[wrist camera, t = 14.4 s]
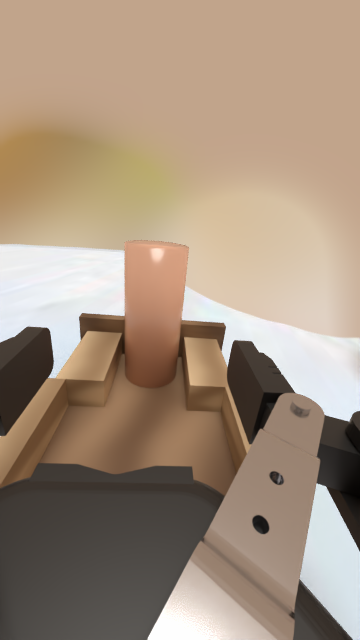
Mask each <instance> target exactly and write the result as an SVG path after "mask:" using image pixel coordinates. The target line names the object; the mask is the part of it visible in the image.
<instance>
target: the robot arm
mask: <svg viewBox="0 0 360 640" xmlns="http://www.w3.org/2000/svg"><path fill="white" fill-rule="evenodd" d="M53 363H54V360H53V351H52V343H51V335H50V331H49V329H48V328H41V327H26V328H25V329H24V330H23V331H21V332H20V333H19V334H18V335H16V336H15V337H12V338H10V339H8V340H5V341H3V342H1V343H0V436H6V435H7V433H8V432H9V431H10V429H11V428H12V426H13V425H14V424H15V422H16V421H17V420H18V418H19V417H20V415H21V414H22V413H23V411H24V410H25V409H26V407H27V406H28V404H29V403H30V402H31V400H32V399H33V397H34V396H35V395H36V393H37V392H38V391H39V389H40V388H41V386H42V385H43V384H44V382H45V381H46V379H47V378H48V377H49V375H50V374H51V372H52V369H53ZM227 382H228V386H229V389H230V391H231V394H232V397H233V400H234V403H235V406H236V408H237V411H238V414H239V417H240V420H241V423H242V426H243V428H244V431H245V434H246V437H247V440H248V443H249V444H252V445H251V447H250V449H249V451H248V453H247V455H246V457H245V459H244V461H243V463H242V465H241V467H240V468H239V470H238V472H237V474H236V476H235V478H234V480H233V482H232V484H231V486H230V488H229V490H228V492H227V494H226V496H224V495H223V494H221V493H220V492H219V491H217V490H216V489H214V488H212V487H211V486H209V485H207V484H205V483H202V482H200V481H197V480H194V479H193V469H192V466H152V467H147V468H143V469H138V470H134V471H130V472H125V473H121V474H111V473H107V472H104V471H100V470H97V469H93V468H90V467H86V466H83V465H80V464H62V463H38V464H37V466H36V468H35V470H34V472H33V474H32V476H31V477H29V478H25V479H22V480H19V481H16V482H13V483H11V484H9V485H6V486H4V487H2V488H0V640H353V639H352V638H351V637H350V636H349V635H348V634H347V632H346V631H345V630H344V629H343V628H342V627H341V626H340V624H339V623H338V622H337V621H336V620H335V619H334V618H333V617H332V615H331V614H330V613H329V612H328V611H327V610H326V609H325V607H324V606H323V605H322V604H321V603H320V602H319V601H318V600H317V598H316V597H315V596H314V595H313V594H312V593H311V592H310V590H309V589H308V588H307V587H306V586H305V585H304V584H303V582H302V581H301V580H300V579H299V578H300V572H301V567H302V561H303V556H304V550H305V544H306V539H307V533H308V528H309V522H310V516H311V511H312V505H313V500H314V494H315V488H316V483H318V484H321V485H324V486H326V487H327V489H328V491H329V493H330V495H331V497H332V499H333V501H334V503H335V504H336V506H337V508H338V510H339V512H340V514H341V516H342V518H343V520H344V522H345V524H346V526H347V528H348V529H349V531H350V533H351V535H352V537H353V539H354V541H355V543H356V545H357V547H358V549H359V551H360V411H357V412H355V413H354V414H353V415H352V417H351V419H350V421H349V422H348V421H344V420H340V419H337V418H333V417H329V416H326V415H324V412H323V410H322V409H321V407H320V406H319V405H318V404H317V403H315V402H314V401H313V400H311V399H309V398H307V397H305V396H303V395H300V394H296V393H295V392H294V390H293V389H292V387H291V386H290V385H289V383H288V382H287V380H286V379H285V377H284V376H283V375H281V372H280V370H279V369H278V368H277V366H276V365H275V363H274V362H273V360H272V359H271V358H269V357H268V356H266V355H265V354H264V353H259V352H258V350H257V349H256V347H255V346H254V344H253V343H252V342H251V341H238V340H235V341H234V342H233V344H232V349H231V354H230V359H229V364H228V369H227Z"/></svg>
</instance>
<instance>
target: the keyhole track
mask: <svg viewBox="0 0 360 640" xmlns="http://www.w3.org/2000/svg"><path fill="white" fill-rule="evenodd" d="M79 321H80V335H81V341H80V343H79V344H78V346H77V347H76V349H75V350H74V352H73V353H72V355H71V356H70V358H69V359H68V360H67V362H66V363H65V365H64V366H63V368H62V369H61V371H60V372H59V374H58V375H57V377H56V378H47V379H46V381H45V382H44V384H43V385H42V386H41V388H40V389H39V391H38V392H37V393H36V395H35V396H34V397H33V399H32V400H31V402H30V403H29V404H28V406H27V407H26V409H25V410H24V411H23V413H22V414H21V415H20V417H19V418H18V420H17V421H16V422H15V424H14V425H13V426H12V428H11V429H10V431H9V432H8V433H7V435H6V436H1V437H0V488H2V487H4V486H6V485H9V484H11V483H13V482H16V481H19V480H22V479H25V478H29V477H31V476H32V474H33V472H34V470H35V468H36V466H37V464H38V463H62V464H80V465H83V466H86V467H90V468H93V469H97V470H100V471H104V472H107V473H111V474H121V473H125V472H130V471H134V470H138V469H143V468H147V467H152V466H192V469H193V479H194V480H197V481H200V482H202V483H205V484H207V485H209V486H211V487H212V488H214V489H216V490H217V491H219V492H220V493H221V494H223V495H224V496H226V494H227V492H228V490H229V488H230V486H231V484H232V482H233V480H234V478H235V476H236V474H237V472H238V470H239V468H240V467H241V465H242V463H243V461H244V459H245V457H246V455H247V453H248V451H249V449H250V447H251V445H252V444H249V443H248V440H247V437H246V434H245V431H244V428H243V426H242V423H241V420H240V417H239V414H238V411H237V408H236V406H235V403H234V400H233V397H232V394H231V391H230V389H229V386H228V382H227V369H228V368H227V365H226V363H225V360H224V357H223V355H222V352H221V351H222V345H223V340H224V334H225V329H226V326H225V324H224V323H214V322H200V321H186V320H182V321H181V331H180V341H179V351H178V361H177V371H176V377H175V379H174V380H173V381H172V382H171V383H169V384H167V385H165V386H162V387H158V388H144V387H140V386H137V385H134V384H132V383H131V382H130V381H128V379H127V378H126V376H125V316H114V315H100V314H86V313H82V314H81V315H80V317H79Z"/></svg>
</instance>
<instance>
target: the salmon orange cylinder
mask: <svg viewBox="0 0 360 640" xmlns="http://www.w3.org/2000/svg"><path fill="white" fill-rule="evenodd" d="M188 250H189V247H187V246H185V245H181V244H176V243H169V242H162V241H148V240H134V241H127V242H125V376H126V378H127V379H128V381H130V382H131V383H132V384H134V385H137V386H140V387H144V388H158V387H162V386H165V385H167V384H169V383H171V382H172V381H173V380H174V379H175V377H176V371H177V361H178V351H179V341H180V331H181V321H182V311H183V301H184V291H185V281H186V270H187V261H188Z"/></svg>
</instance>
